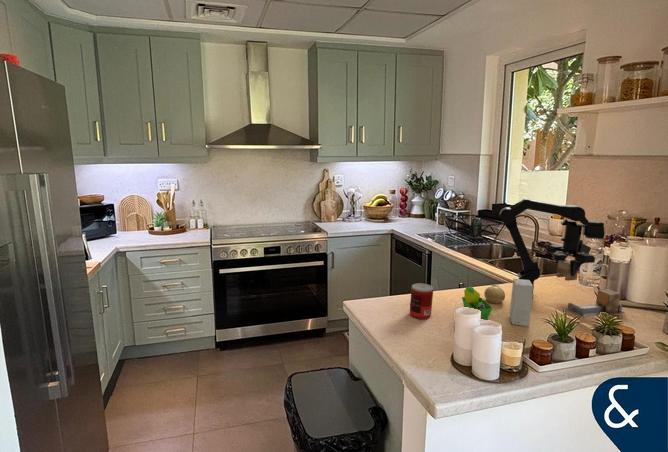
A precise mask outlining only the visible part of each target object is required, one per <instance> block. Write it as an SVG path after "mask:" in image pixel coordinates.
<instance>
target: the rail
mask: <svg viewBox="0 0 668 452" xmlns="http://www.w3.org/2000/svg"><path fill="white" fill-rule="evenodd" d="M564 309H567V310H569V311H570V312H572V313H575V314H577V315H579V316H582V317H584V318H585V317H586V318H587V317H596V316H600V315H599V314H600V312H606V313H608V314H607V315H616V314H625V313H626V312H625V311H622V310H623V304H621V303H619V307H618V311H613V312H607V311H606V306H603V305H596V304H588V305H576V304H574V303H572V302H568V304H567V307H564Z"/></svg>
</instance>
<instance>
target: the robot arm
mask: <svg viewBox="0 0 668 452" xmlns="http://www.w3.org/2000/svg"><path fill="white" fill-rule="evenodd" d="M526 210H532V211H538V212H542V213H546V214H552V215H557V216H559V217H560V216H561V217H563V218H565V219H564V220H563V221H561V222H560V225H561V226H565V228H564V236H563V237H561V242H563V243H562V245H559V244H552V245H551V244H550V245H548V246H547V247H546V253H550V254H551V256H553V259H554V260H555V262H556V264H557V266H558V261H559V260H567V258H568V257H572V258H574V259H571V260H570V259H569V260H570V263H571V276H574V275H575V274H576V272H577V271H578V272H579V269H580V267H581V266H582V265H583V264H592V263H595V262H596V256H594V255H593V254H590V252H591V249H592V247H591V246H589V245H586V244H584V241H583V239H581V237H582V236H584V238H585V239H590V240H591V239H593V240H602V241H603V239H604V238H605V223H604V221H603V222H601V221H589V220H588V219H587V217H586V211H585V209H584V208H583V207H581V206H579V205H576V204H554V203H550V202H549V203H548V202H545V201H540V200H535V199H529V198H522V200H519V201H518V202H516V203H514V204H512V205H511V206H505V207H503V208H501V209H500V211H499V217H500V220H501V221H502V223H503V224H504V226H505V227H506V228H507V230H508V231H509V233H510V236H511V239H512V241H513V243H514V246H515V249H516V250H517V253H518V255H519V257H520V260H521V264H522V270H520V271H519V272H517V276H518V279H522V280H530V282H531V283H532V285H533V291H532V295H533V294H534V288H535V285H534V283H535V281H536V280H538V279H540V276H541V268H540V266H539V265H538V261H537V259H536V258H534V259H533V258H532V257H531V256H530V253H529V251H528V249H527V246H526V244H525V241H524V239H523V237H522V234H521V233H520V230H519V228H518V223H517V218H516V217H517V216H519V215H521V214H522V213H523V212H525V211H526ZM569 220H570V221H569ZM578 222H580V223H578Z"/></svg>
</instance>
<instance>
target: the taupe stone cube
mask: <svg viewBox="0 0 668 452" xmlns="http://www.w3.org/2000/svg"><path fill="white" fill-rule="evenodd" d="M621 295H622V294H621V293H619V292H617V291H614V290H612V289H609V288H607V289H606V288H605V289H604V288H603V289H598V290H597V295H596V302H595V305H603V306H606V311H607V312H613V311H618V307H619V304H620V300H621Z"/></svg>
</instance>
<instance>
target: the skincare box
mask: <svg viewBox="0 0 668 452" xmlns="http://www.w3.org/2000/svg"><path fill="white" fill-rule="evenodd" d="M532 291H533V292H534V289H533V285H532V283H531V282H530V280H522V279H519V278H513V279H512V289H511V299H510V309H509V318H510V322H511V324H512V325H515V326H516V325H517V326H521V327H527V328H529V327H530V320H531V311H532V310H531V309H532V299H533V294H532Z"/></svg>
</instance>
